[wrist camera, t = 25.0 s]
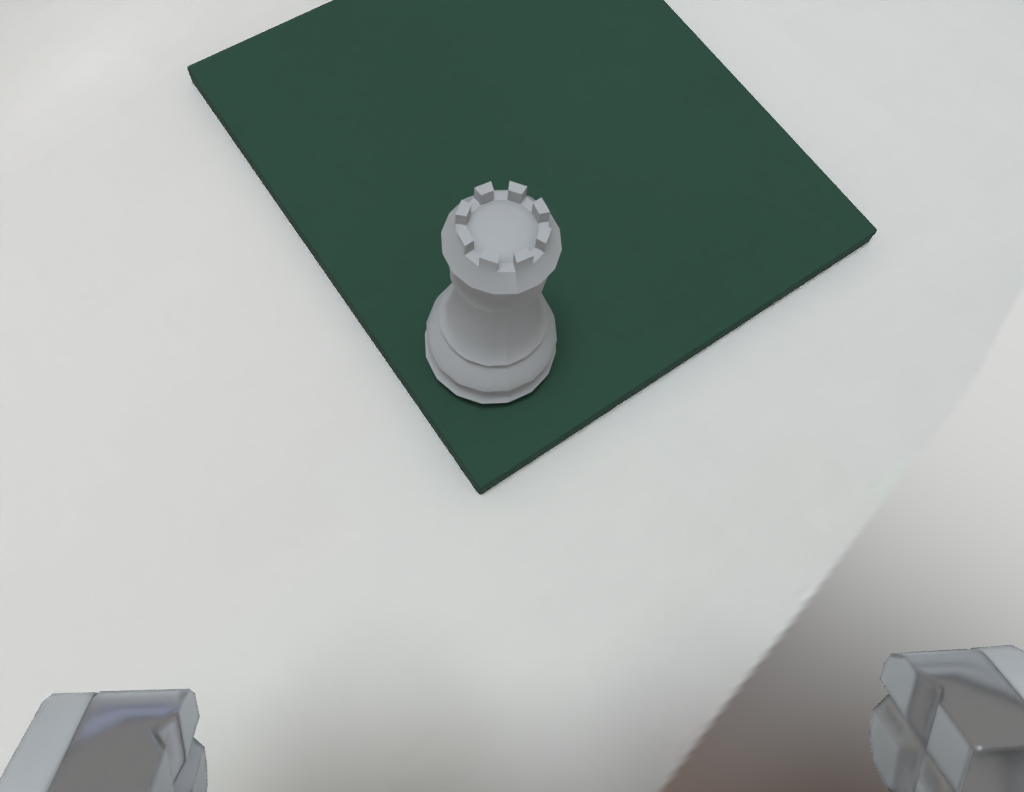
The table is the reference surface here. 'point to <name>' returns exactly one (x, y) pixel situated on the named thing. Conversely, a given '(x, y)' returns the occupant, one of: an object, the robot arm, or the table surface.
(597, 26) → the mat
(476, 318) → the rook chess piece
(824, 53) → the table surface
